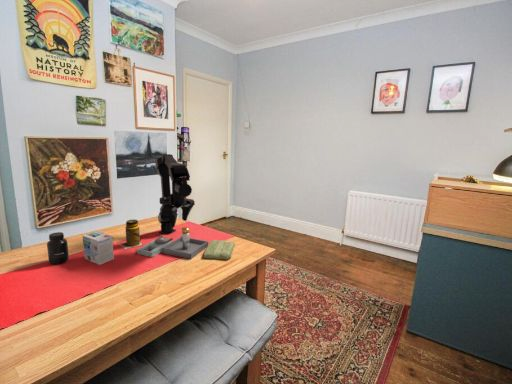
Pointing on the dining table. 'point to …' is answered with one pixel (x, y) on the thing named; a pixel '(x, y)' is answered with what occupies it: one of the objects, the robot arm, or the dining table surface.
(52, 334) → the dining table surface
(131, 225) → the condiment
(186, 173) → the robot arm
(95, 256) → the light bulb box
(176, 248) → the tray
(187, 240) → the lock pin
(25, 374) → the dining table surface
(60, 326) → the dining table surface
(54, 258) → the supplement bottle
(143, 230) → the dining table surface
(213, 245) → the washcloth
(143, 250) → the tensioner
